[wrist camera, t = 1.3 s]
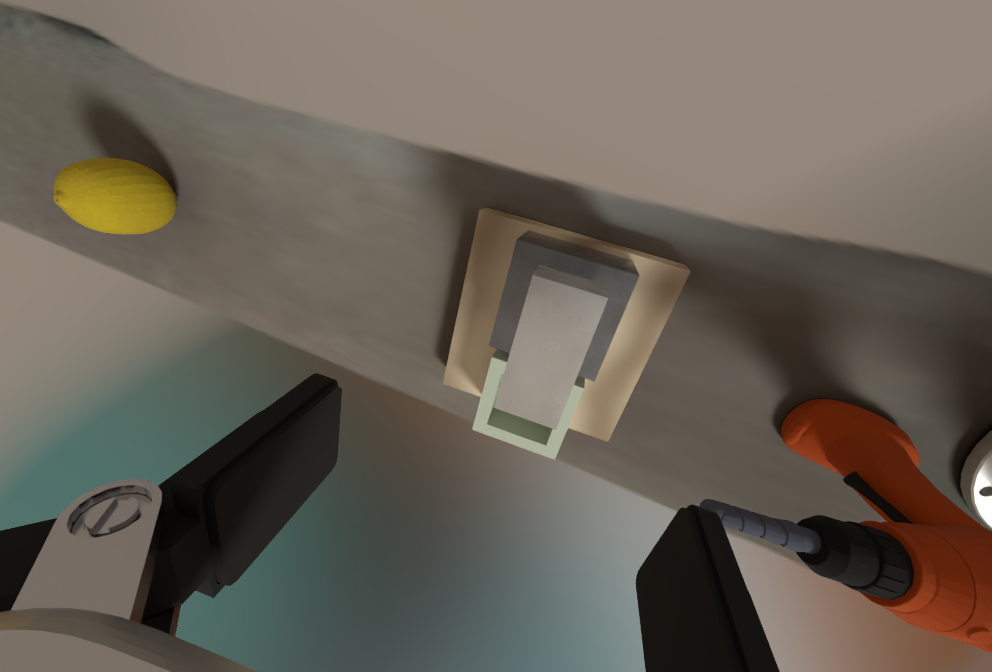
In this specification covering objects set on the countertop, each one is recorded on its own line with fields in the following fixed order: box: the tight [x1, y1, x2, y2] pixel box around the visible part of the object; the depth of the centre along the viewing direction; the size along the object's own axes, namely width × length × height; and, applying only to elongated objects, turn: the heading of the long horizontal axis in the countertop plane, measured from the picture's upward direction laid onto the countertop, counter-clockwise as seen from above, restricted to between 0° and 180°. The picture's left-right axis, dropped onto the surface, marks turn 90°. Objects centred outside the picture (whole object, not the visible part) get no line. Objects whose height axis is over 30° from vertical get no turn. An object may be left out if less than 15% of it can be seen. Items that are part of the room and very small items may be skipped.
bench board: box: [443, 207, 691, 442], centre depth 28 cm, size 14×14×2 cm
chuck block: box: [489, 230, 639, 382], centre depth 24 cm, size 7×7×4 cm
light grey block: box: [494, 265, 608, 430], centre depth 21 cm, size 7×3×10 cm, turn 166°
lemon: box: [54, 158, 177, 234], centre depth 29 cm, size 6×6×8 cm
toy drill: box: [700, 399, 992, 653], centre depth 20 cm, size 5×19×15 cm, turn 74°
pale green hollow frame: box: [473, 349, 585, 460], centre depth 27 cm, size 6×6×4 cm
